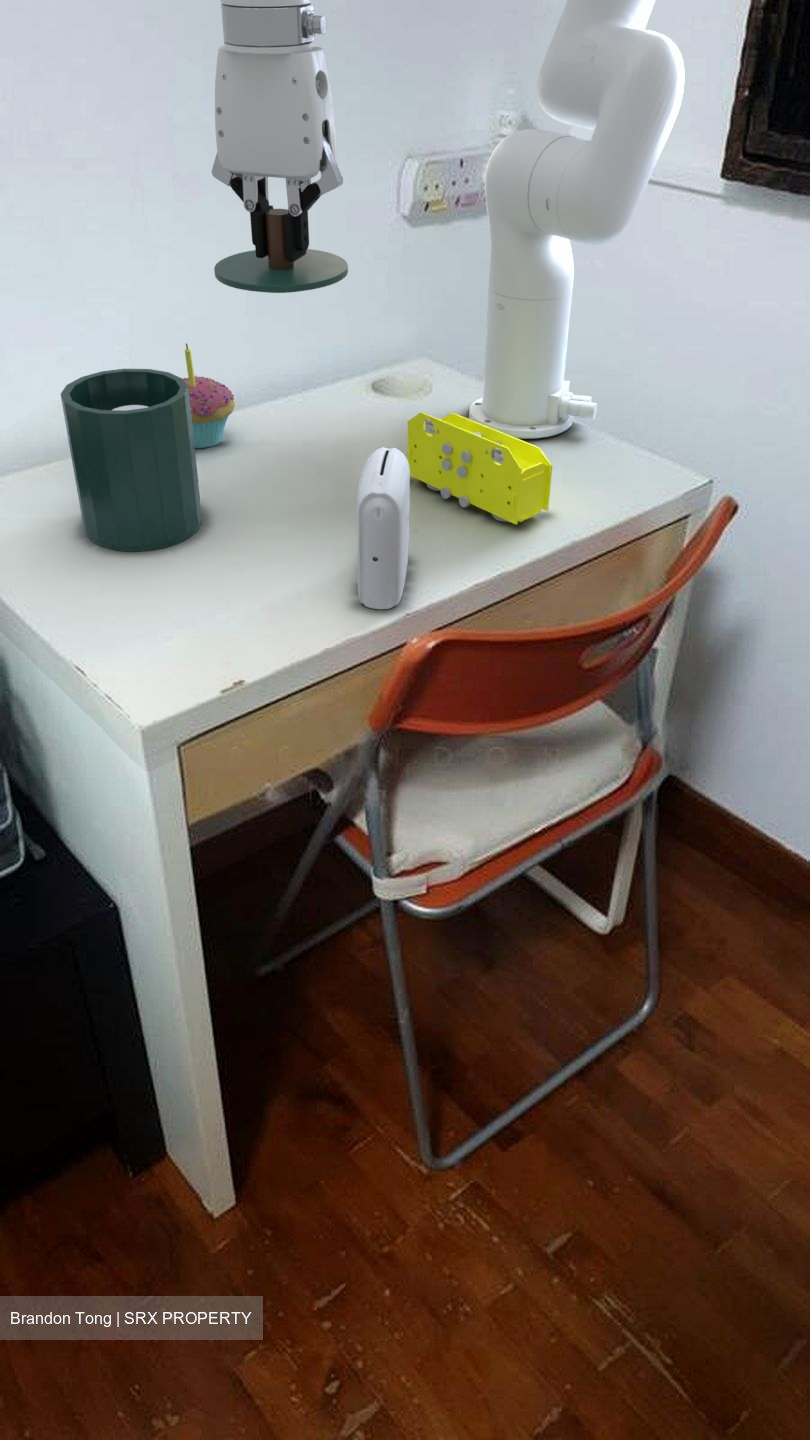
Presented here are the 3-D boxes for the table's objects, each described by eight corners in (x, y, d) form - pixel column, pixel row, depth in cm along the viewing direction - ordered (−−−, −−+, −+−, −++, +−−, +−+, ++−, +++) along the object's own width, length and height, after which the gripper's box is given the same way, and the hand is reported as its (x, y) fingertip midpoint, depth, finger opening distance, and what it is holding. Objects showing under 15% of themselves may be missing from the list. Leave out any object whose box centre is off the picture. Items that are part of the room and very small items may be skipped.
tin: (209, 499, 121) (196, 369, 112) (191, 552, 111) (175, 414, 103) (99, 498, 121) (78, 367, 112) (72, 550, 111) (47, 412, 103)
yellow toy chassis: (403, 482, 125) (404, 408, 120) (441, 467, 128) (443, 395, 123) (512, 533, 115) (518, 455, 110) (549, 516, 119) (556, 439, 114)
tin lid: (351, 260, 114) (349, 195, 110) (345, 299, 104) (342, 229, 100) (224, 260, 114) (219, 195, 110) (206, 299, 104) (199, 229, 100)
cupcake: (231, 455, 130) (222, 350, 123) (156, 454, 130) (143, 349, 123) (241, 426, 137) (233, 325, 130) (170, 424, 137) (159, 323, 130)
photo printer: (401, 612, 103) (403, 485, 96) (354, 609, 103) (352, 482, 96) (411, 557, 111) (413, 436, 104) (367, 555, 111) (366, 434, 104)
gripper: (372, 28, 97) (375, 254, 108) (204, 20, 102) (223, 238, 113) (337, 39, 92) (344, 276, 103) (161, 29, 96) (186, 258, 107)
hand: (281, 254), depth 108 cm, fingers closed on tin lid, 2 cm apart
